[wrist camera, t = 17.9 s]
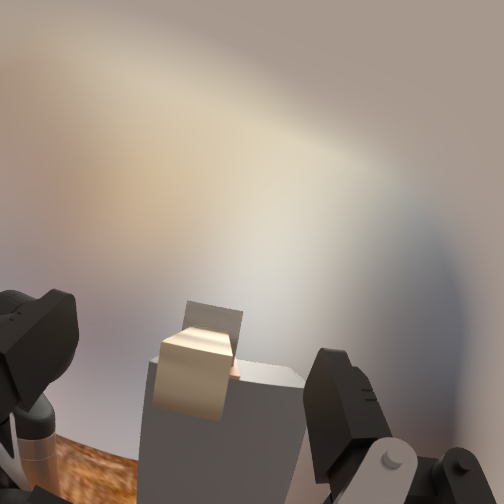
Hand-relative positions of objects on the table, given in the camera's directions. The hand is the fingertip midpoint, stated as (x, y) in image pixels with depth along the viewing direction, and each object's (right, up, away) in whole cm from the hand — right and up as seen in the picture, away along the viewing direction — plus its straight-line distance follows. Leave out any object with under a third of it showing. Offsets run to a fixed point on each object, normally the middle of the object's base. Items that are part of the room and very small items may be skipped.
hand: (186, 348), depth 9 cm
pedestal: (-6, -38, +10) cm, 40 cm away
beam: (-2, -6, +12) cm, 14 cm away
